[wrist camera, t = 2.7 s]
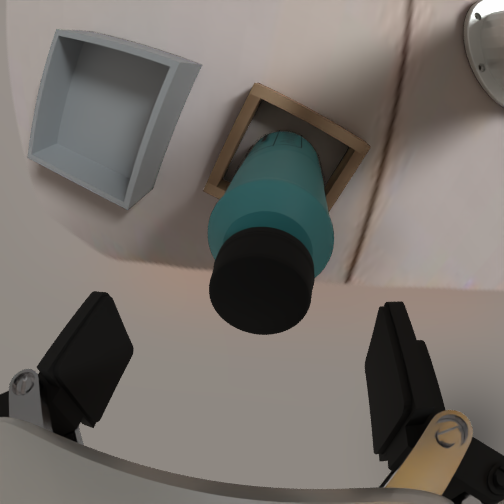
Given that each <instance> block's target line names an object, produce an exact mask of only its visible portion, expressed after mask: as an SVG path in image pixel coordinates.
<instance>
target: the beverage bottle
mask: <svg viewBox="0 0 504 504" xmlns="http://www.w3.org/2000/svg"><path fill="white" fill-rule="evenodd" d="M277 131H278V130H277ZM279 131H280V130H279ZM286 131H288V130H286ZM272 132H273V131H272ZM292 132H293V131H292ZM295 133H296V132H295ZM264 135H265V136H264V137H263V138H261V137H260V138H261V139H260V140H259V141H258V142H257V143H256V144H255V145H254V146H253V145H252V146H253V148H252V150H251V151H250V153H249V154H248V153H247V155H248V156H247V155H246V158H245V160H244V162H243V161H242V162H243V164H242V165H241V167H240V168H239V170H238V171H237V170H235V171H236V172H237V173H236V174H235V175H234V176H233V177H234V178H233V180H232V181H231V183H230V185H229V187H228V189H227V190H226V192H224V193H225V194H224V195H223V196H222V197H221V198H220V200H219V201H218V203H217V204H216V205H215V207H214V209H213V211H212V213H211V216H210V219H209V224H208V242H209V247H210V250H211V253H212V255H213V257H214V259H215V263H214V269H213V273H212V276H211V279H210V285H209V294H210V299H211V302H212V305H213V307H214V309H215V310H216V312H217V313H218V314H219V315H220V317H221V318H222V319H224V320H225V321H226V322H227V323H229V324H230V325H232V326H234V327H235V328H237V329H240V330H242V331H245V332H248V333H253V334H259V335H260V334H262V335H267V334H275V333H280V332H283V331H286V330H288V329H290V328H292V327H293V326H295V325H296V324H298V323H299V321H301V320H302V319H303V318H304V316H305V315H306V313H307V311H308V309H309V306H310V303H311V295H312V289H313V285H314V278H315V277H317V276H318V275H319V274H320V273H321V272H322V270H323V269H324V268H325V266H326V265H327V263H328V261H329V259H330V257H331V254H332V251H333V245H334V231H333V225H332V222H331V219H330V216H329V212H328V206H327V201H326V198H327V197H326V194H325V190H324V184H325V182H324V183H323V177H322V174H321V169H320V165H321V164H320V165H319V161H320V159H319V160H318V156H319V155H318V156H317V154H316V152H315V150H314V148H313V147H312V145H311V144H310V143H309V142H308V141H307V140H306V139H304V138H303V137H302V135H301V136H299V135H298V134H294V133H291V132H289V131H288V132H274V133H271V134H268V135H266V134H264ZM252 146H251V147H252ZM250 149H251V148H250ZM250 149H249V150H250ZM242 160H243V159H242ZM239 166H240V165H239ZM237 168H238V167H237ZM237 168H236V169H237ZM322 171H323V170H322ZM227 185H228V184H227ZM226 187H227V186H226Z"/></svg>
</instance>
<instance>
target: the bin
mask: <svg viewBox="0 0 504 504" xmlns="http://www.w3.org/2000/svg"><path fill="white" fill-rule="evenodd" d="M201 66H202V65H201V64H199V63H196V62H193V61H191V60H188V59H185V58H182V57H180V56H177V55H174V54H171V53H168V52H165V51H162V50H159V49H155V48H152V47H149V46H146V45H142V44H139V43H135V42H132V41H128V40H125V39H121V38H117V37H113V36H109V35H105V34H100V33H96V32H91V31H81V30H65V29H56V32H55V35H54V38H53V41H52V44H51V47H50V50H49V54H48V57H47V61H46V64H45V68H44V71H43V75H42V79H41V83H40V88H39V92H38V96H37V101H36V106H35V111H34V117H33V122H32V128H31V135H30V142H29V150H28V158H29V159H31V160H33V161H35V162H37V163H38V164H40V165H42V166H44V167H46V168H48V169H50V170H52V171H54V172H55V173H57V174H59V175H61V176H63V177H65V178H67V179H69V180H71V181H72V182H74V183H76V184H78V185H80V186H82V187H84V188H86V189H88V190H90V191H92V192H94V193H95V194H97V195H99V196H101V197H103V198H105V199H107V200H109V201H111V202H113V203H115V204H117V205H119V206H121V207H123V208H125V209H126V210H128V209H130V208H131V207H132V206H133V205H134V204H135V203H136V202H138V201H139V200H140V199H141V198H142V197H143V196H145V195H146V194H147V193H148V192H149V191H151V190H152V189H153V186H154V183H155V180H156V177H157V174H158V172H159V169H160V166H161V163H162V160H163V158H164V155H165V152H166V149H167V147H168V144H169V141H170V139H171V136H172V134H173V131H174V129H175V126H176V124H177V121H178V119H179V116H180V114H181V111H182V109H183V107H184V104H185V102H186V99H187V97H188V95H189V93H190V90H191V88H192V86H193V84H194V81H195V79H196V77H197V75H198V73H199V70H200V68H201Z"/></svg>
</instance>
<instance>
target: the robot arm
mask: <svg viewBox="0 0 504 504" xmlns="http://www.w3.org/2000/svg"><path fill="white" fill-rule="evenodd" d="M463 33H464V45H465V49H466V54H467V57H468V60H469V63H470V66H471V68H472V70H473V72H474V74H475V76H476V78H477V80H478V81H479V83H480V84H481V86H482V88H483V89H484V90H485V91H486V92H487V94H488V95H489V96H490V97H491V98H492V99H493V100H494V101H495V102H497V103H498V104H499V105H501V106H503V107H504V0H480V1H478V2H476V3H475V4H474V5H473V6H471V8H470V9H469V11H468V13H467V15H466V18H465V22H464V32H463ZM478 66H479V67H478ZM132 355H133V345H132V343H131V341H130V339H129V336H128V334H127V332H126V330H125V327H124V325H123V322H122V320H121V318H120V315H119V313H118V310H117V308H116V306H115V303H114V301H113V298H112V297H110V296H109V294H108V293H106V292H96V291H94V292H92V293H91V294H90V296H89V297H88V298H87V299H86V300H85V302H84V303H83V304H82V305H81V307H80V308H79V309H78V311H77V312H76V313H75V315H74V316H73V317H72V319H71V320H70V321H69V322H68V324H67V325H66V327H65V328H64V329H63V330H62V332H61V333H60V335H59V336H58V337H57V339H56V340H55V341H54V343H53V344H52V346H51V347H50V349H49V350H48V351H47V353H46V354H45V356H44V357H43V358H42V360H41V361H40V363H39V365H38V366H37V368H38V370H39V371H40V372H39V374H37V373H36V372H35V371H34V370H32V369H25V370H22V371H20V372H18V373H17V374H16V375H15V376H14V377H13V378H12V380H11V382H10V386H9V391H7V392H5V393H3V394H0V504H504V456H503V455H502V454H500V453H498V452H497V451H495V450H493V449H492V448H490V447H488V446H487V445H485V444H483V443H482V442H480V441H479V440H477V439H475V438H474V437H472V436H473V427H472V425H471V422H470V420H469V419H468V418H467V416H465V415H464V414H462V413H461V412H459V411H456V410H445V407H444V403H443V399H442V396H441V392H440V388H439V385H438V381H437V378H436V375H435V372H434V369H433V365H432V362H431V359H430V356H429V353H428V350H427V347H426V344H425V342H424V341H422V340H416V337H415V334H414V331H413V328H412V325H411V322H410V319H409V317H408V313H407V311H406V308H405V305H404V303H403V302H386V303H385V305H384V307H379V310H378V315H377V318H376V323H375V327H374V331H373V335H372V338H371V342H370V346H369V350H368V353H367V357H366V361H365V373H366V380H367V388H368V397H369V405H370V414H371V425H372V436H373V448H374V453H375V454H379V460H380V461H388V468H389V469H390V470H391V471H390V472H389V474H388V475H387V476H386V477H385V479H384V480H383V481H382V482H381V484H380V485H379V486H378V487H377V488H349V489H289V488H271V487H258V486H248V485H239V484H231V483H224V482H217V481H211V480H205V479H200V478H194V477H189V476H184V475H180V474H175V473H171V472H167V471H162V470H158V469H155V468H151V467H147V466H144V465H140V464H137V463H133V462H130V461H127V460H124V459H120V458H117V457H114V456H111V455H108V454H106V453H103V452H100V451H97V450H95V449H92V448H89V447H87V446H84V445H83V441H82V437H81V433H80V429H79V424H80V422H81V423H82V424H84V425H87V426H89V427H92V428H94V426H95V424H96V422H98V421H100V419H101V417H102V415H103V413H104V411H105V409H106V407H107V405H108V403H109V400H110V398H111V397H112V395H113V392H114V390H115V388H116V386H117V384H118V382H119V380H120V378H121V376H122V374H123V373H124V371H125V369H126V367H127V365H128V363H129V361H130V359H131V357H132Z"/></svg>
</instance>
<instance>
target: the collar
mask: <svg viewBox="0 0 504 504" xmlns="http://www.w3.org/2000/svg"><path fill="white" fill-rule="evenodd" d="M262 99H263V100H265V101H267V102H269V103H271V104H273V105H275V106H277V107H279V108H281V109H283V110H285V111H287V112H289V113H291V114H293V115H295V116H297V117H298V118H300V119H302V120H304V121H306V122H308V123H310V124H311V125H313V126H315V127H317V128H319V129H320V130H322V131H324V132H326V133H327V134H329V135H331V136H332V137H334V138H336V139H338V140H339V141H341V142H343V143H344V144H346V145H347V146H349V149H348V151H347V152H346V154H345V155H344V157H343V159H342V160H341V162H340V163H339V165H338V167H337V168H336V170H335V171H334V173H333V175H332V176H331V178H330V179H329V181H328V183H327V184H326V186H325V187H324V190H325V194H326V197H327V198H326V201H327V206H328V212H329V211H330V209H331V208H332V206H333V205H334V203H335V202H336V200H337V199H338V197H339V196H340V194H341V193H342V191H343V190H344V188H345V187H346V185H347V184H348V182H349V180H350V179H351V177H352V176H353V174H354V173H355V171H356V170H357V168H358V166H359V165H360V163H361V162H362V160H363V159H364V157H365V155H366V154H367V152H368V151H369V149H370V148H371V147H370V146H369V145H368V144H367V143H366V142H365V141H364V140H362V139H361V138H359V137H357V136H356V135H354V134H353V133H351V132H349V131H348V130H346V129H344V128H343V127H341V126H339V125H338V124H336V123H334V122H333V121H331V120H329V119H327V118H326V117H324V116H322V115H320V114H319V113H317V112H315V111H313V110H311V109H309V108H308V107H306V106H304V105H302V104H300V103H298V102H296V101H294V100H292V99H291V98H289V97H287V96H285V95H283V94H281V93H279V92H277V91H275V90H272V89H270V88H268V87H266V86H264V85H262V84H260V83H254V85H253V87H252V89H251V91H250V93H249V95H248V97H247V99H246V101H245V103H244V105H243V107H242V109H241V111H240V113H239V115H238V117H237V119H236V121H235V123H234V125H233V127H232V129H231V131H230V133H229V136H228V138H227V140H226V142H225V144H224V146H223V148H222V150H221V153H220V155H219V157H218V159H217V161H216V163H215V166H214V168H213V170H212V172H211V174H210V177H209V179H208V181H207V183H206V186H205V188H204V190H203V191H204V192H206V193H208V194H210V195H212V196H214V197H216V198H218V199H220V198H221V197H222V196H223V195H224V194H225V193H224V192H226V190H227V189H228V187H229V185H230V182H228V181H226V180H224V179H223V178H224V175H225V173H226V171H227V169H228V167H229V165H230V163H231V161H232V159H233V157H234V155H235V153H236V151H237V149H238V147H239V144H240V142H241V140H242V138H243V136H244V134H245V132H246V130H247V128H248V126H249V124H250V123H251V121H252V119H253V117H254V115H255V113H256V111H257V109H258V107H259V105H260V103H261V101H262ZM227 184H228V185H227ZM226 186H227V187H226Z"/></svg>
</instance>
